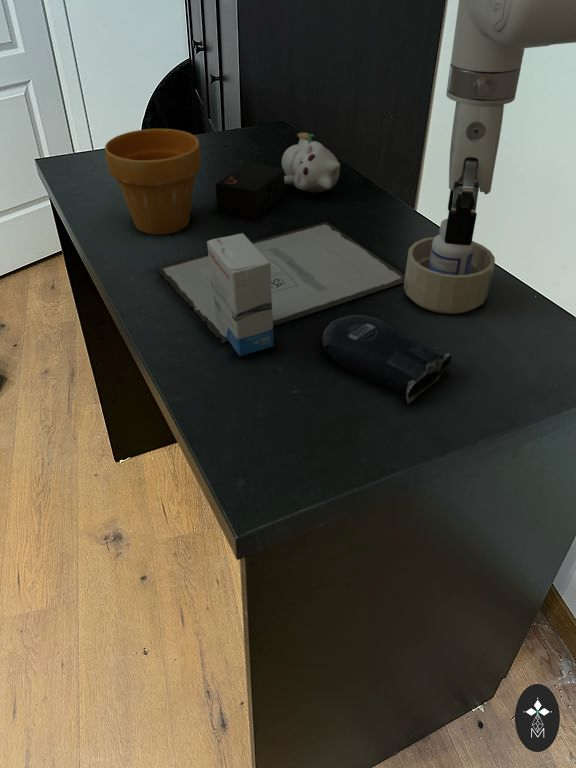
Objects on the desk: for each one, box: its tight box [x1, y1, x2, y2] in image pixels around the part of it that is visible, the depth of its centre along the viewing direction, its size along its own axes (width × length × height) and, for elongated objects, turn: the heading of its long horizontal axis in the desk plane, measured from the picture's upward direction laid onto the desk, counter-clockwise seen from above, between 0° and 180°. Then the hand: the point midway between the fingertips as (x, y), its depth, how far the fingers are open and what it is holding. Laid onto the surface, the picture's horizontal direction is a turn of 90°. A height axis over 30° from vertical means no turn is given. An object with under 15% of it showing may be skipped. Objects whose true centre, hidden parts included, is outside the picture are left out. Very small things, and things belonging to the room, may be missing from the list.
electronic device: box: [215, 161, 285, 220], centre depth 111 cm, size 7×11×5 cm
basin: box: [403, 236, 496, 315], centre depth 88 cm, size 11×11×6 cm
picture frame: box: [155, 221, 405, 344], centre depth 94 cm, size 22×1×30 cm
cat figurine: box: [281, 132, 341, 194], centre depth 116 cm, size 10×8×15 cm
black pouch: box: [321, 314, 453, 405], centre depth 77 cm, size 9×6×15 cm
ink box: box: [206, 232, 275, 357], centre depth 78 cm, size 9×5×12 cm, turn 25°
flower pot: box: [104, 128, 202, 236], centre depth 103 cm, size 14×14×13 cm
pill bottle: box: [428, 218, 474, 275], centre depth 86 cm, size 5×5×10 cm
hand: (458, 226), depth 83 cm, fingers open, 9 cm apart
